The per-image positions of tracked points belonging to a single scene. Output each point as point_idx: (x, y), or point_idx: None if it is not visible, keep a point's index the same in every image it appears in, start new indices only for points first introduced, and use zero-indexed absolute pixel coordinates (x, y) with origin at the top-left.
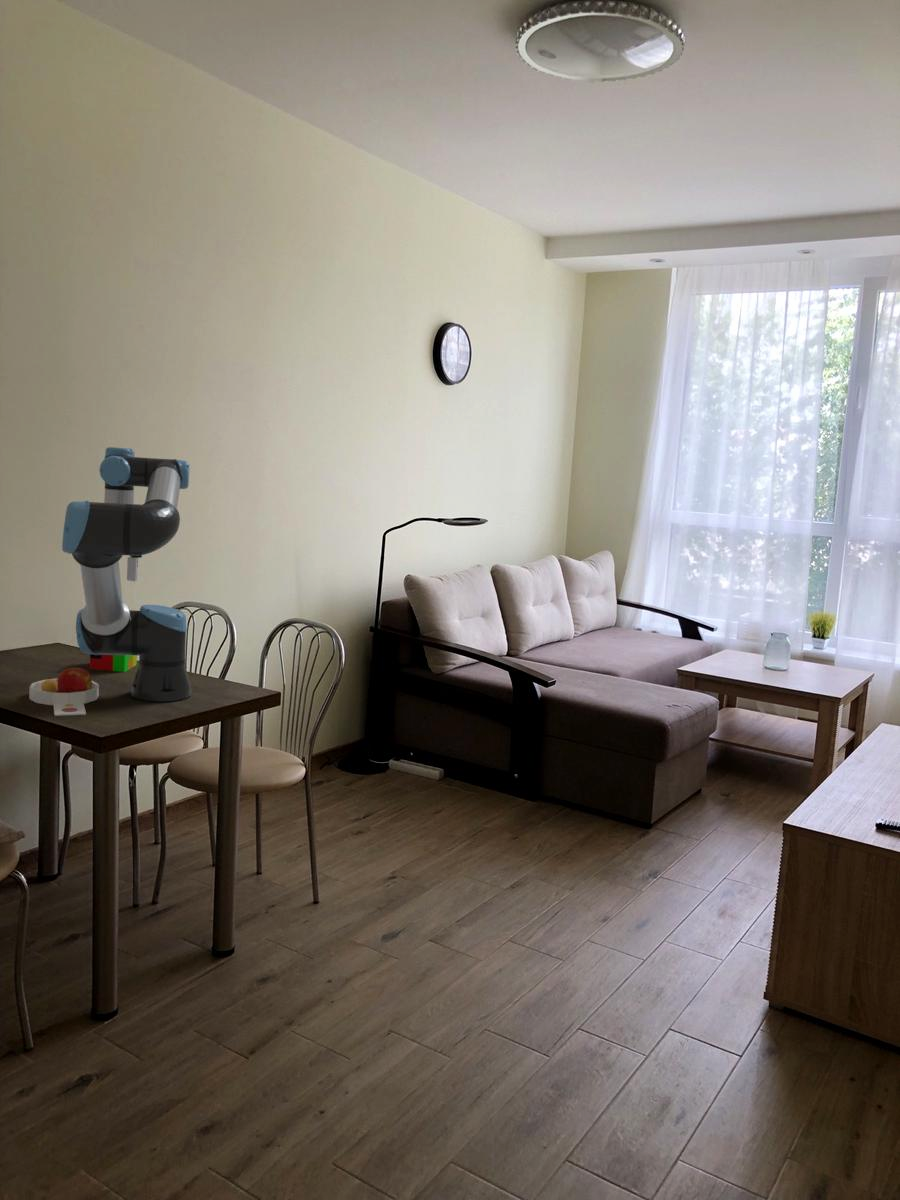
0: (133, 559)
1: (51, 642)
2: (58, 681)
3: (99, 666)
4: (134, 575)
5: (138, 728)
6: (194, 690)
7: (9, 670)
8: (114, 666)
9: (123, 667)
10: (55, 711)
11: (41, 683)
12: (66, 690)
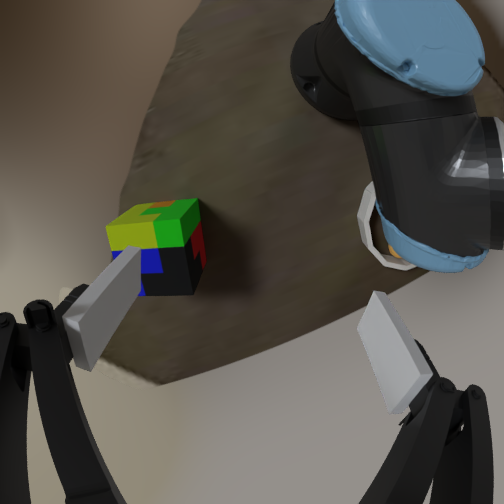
0: (86, 331)
1: (97, 361)
2: None
3: (203, 247)
4: (129, 267)
5: (493, 77)
6: (287, 27)
7: (267, 349)
8: (198, 220)
9: (196, 202)
10: None
11: (394, 262)
12: None
